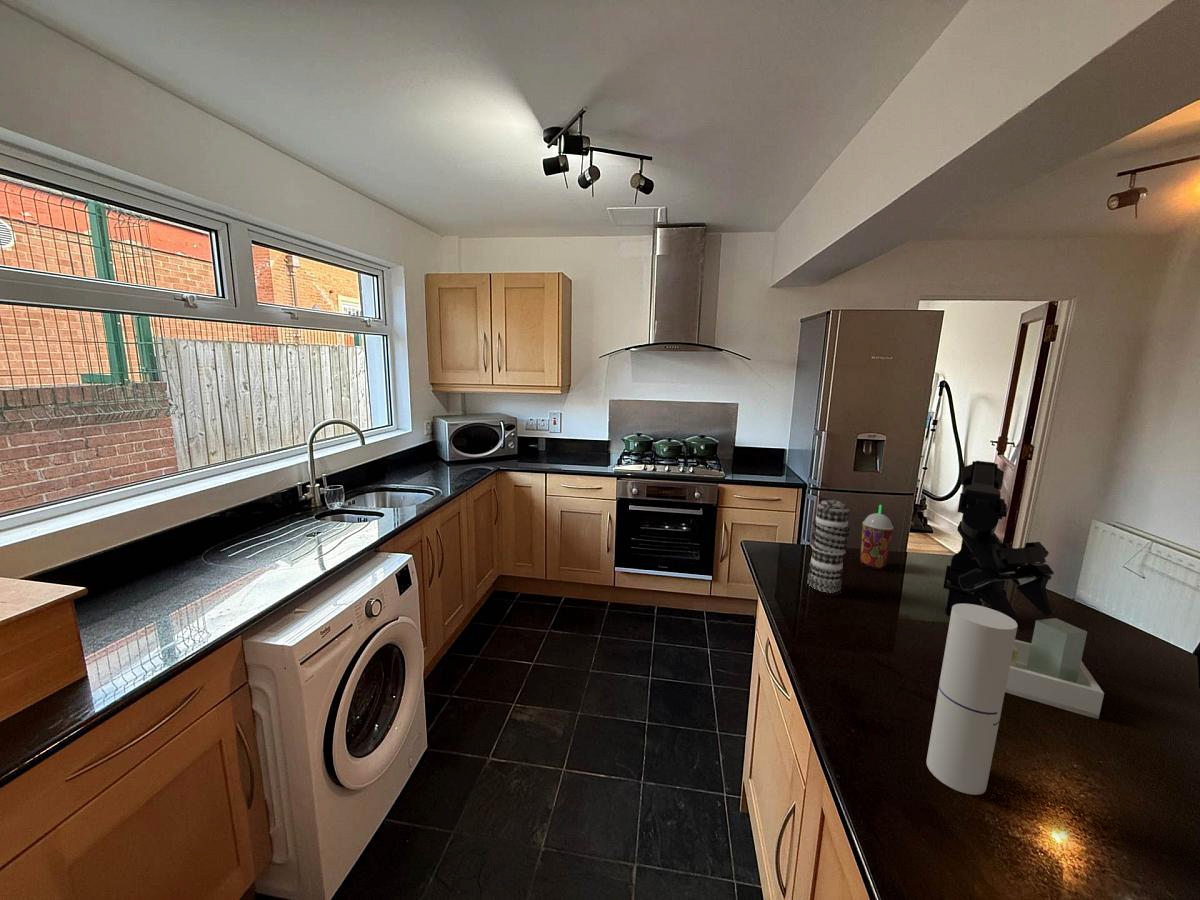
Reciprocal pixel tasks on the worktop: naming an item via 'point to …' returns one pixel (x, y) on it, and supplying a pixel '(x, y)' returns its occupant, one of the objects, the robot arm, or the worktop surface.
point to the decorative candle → (828, 546)
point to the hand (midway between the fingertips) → (1032, 618)
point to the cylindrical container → (970, 696)
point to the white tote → (1054, 687)
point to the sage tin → (1056, 649)
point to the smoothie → (876, 539)
